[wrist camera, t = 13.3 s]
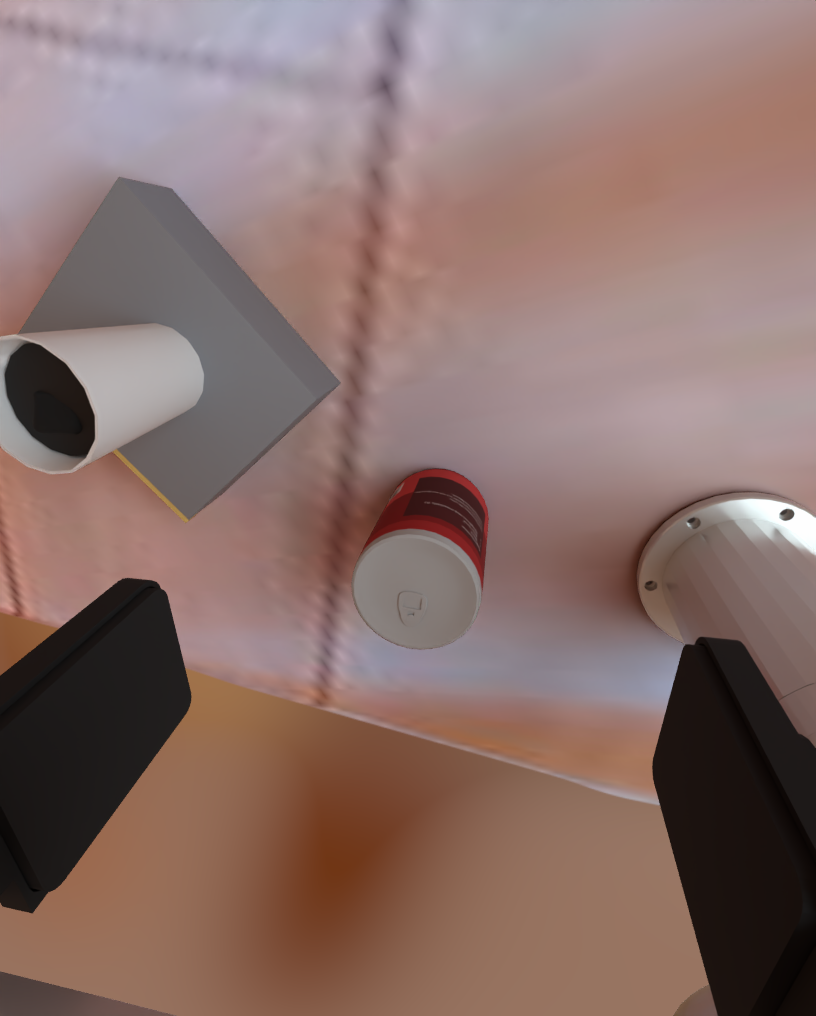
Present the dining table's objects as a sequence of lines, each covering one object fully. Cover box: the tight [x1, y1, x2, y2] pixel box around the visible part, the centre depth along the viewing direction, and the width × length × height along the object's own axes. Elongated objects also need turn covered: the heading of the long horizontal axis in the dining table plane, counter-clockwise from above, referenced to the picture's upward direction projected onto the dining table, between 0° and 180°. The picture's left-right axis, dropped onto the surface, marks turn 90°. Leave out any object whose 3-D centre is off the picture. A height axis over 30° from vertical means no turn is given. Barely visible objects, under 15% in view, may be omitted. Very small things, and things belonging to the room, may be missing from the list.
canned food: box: [351, 469, 489, 649], centre depth 35 cm, size 8×8×11 cm
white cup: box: [0, 323, 204, 474], centre depth 29 cm, size 7×7×10 cm
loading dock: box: [18, 177, 340, 523], centre depth 36 cm, size 16×15×5 cm
